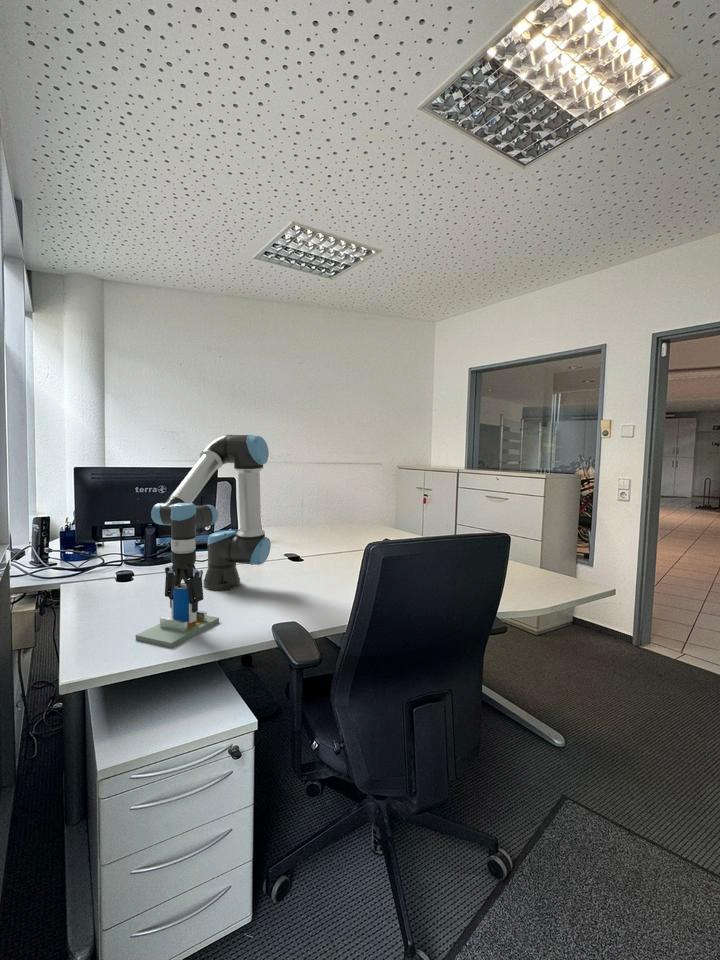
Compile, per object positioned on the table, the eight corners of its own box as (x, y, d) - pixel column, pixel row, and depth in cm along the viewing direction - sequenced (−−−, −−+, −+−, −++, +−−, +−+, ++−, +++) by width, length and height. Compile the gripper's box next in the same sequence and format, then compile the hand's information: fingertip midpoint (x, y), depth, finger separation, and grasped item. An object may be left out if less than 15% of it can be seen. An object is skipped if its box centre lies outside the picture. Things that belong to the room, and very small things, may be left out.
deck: (135, 639, 141) (135, 635, 141) (186, 615, 161) (186, 611, 161) (171, 647, 136) (171, 643, 136) (218, 622, 157) (218, 617, 156)
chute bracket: (159, 626, 147) (159, 617, 147) (183, 616, 157) (183, 607, 157) (184, 632, 144) (184, 622, 144) (206, 620, 154) (206, 612, 153)
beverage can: (176, 617, 153) (176, 582, 152) (196, 617, 154) (196, 582, 153) (170, 625, 147) (170, 588, 146) (191, 624, 148) (191, 588, 147)
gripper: (151, 550, 149) (152, 618, 150) (199, 556, 142) (200, 628, 144) (168, 545, 156) (169, 611, 157) (215, 551, 149) (215, 620, 151)
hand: (183, 619), depth 150 cm, fingers closed on beverage can, 6 cm apart
